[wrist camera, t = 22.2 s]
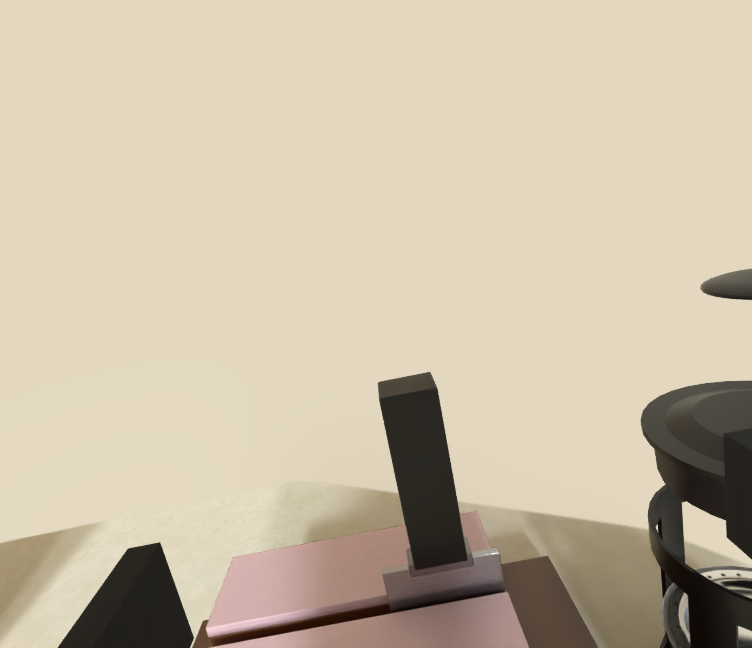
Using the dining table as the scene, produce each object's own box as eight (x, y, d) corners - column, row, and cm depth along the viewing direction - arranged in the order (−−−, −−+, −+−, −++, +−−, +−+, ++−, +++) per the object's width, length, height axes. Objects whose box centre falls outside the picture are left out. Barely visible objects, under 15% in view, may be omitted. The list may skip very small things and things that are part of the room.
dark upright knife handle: (514, 669, 27) (464, 364, 23) (527, 708, 25) (475, 380, 20) (411, 688, 27) (343, 388, 23) (415, 729, 25) (340, 406, 20)
